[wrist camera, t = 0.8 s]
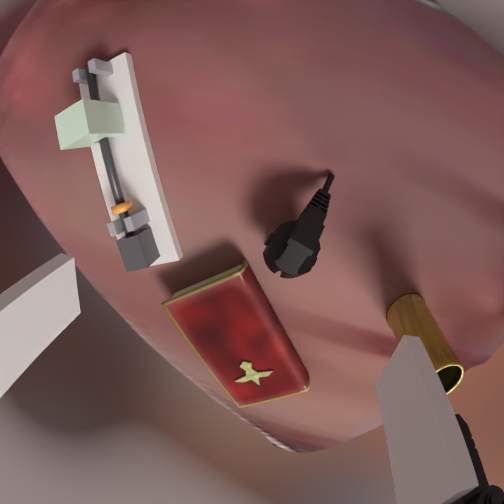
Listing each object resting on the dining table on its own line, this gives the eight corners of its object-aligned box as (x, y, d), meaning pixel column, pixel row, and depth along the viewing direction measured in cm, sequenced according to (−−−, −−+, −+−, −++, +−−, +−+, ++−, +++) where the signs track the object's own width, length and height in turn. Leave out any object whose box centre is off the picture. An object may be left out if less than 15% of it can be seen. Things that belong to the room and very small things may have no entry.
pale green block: (91, 117, 30) (54, 116, 23) (118, 103, 29) (82, 98, 23) (97, 145, 31) (60, 149, 25) (124, 133, 30) (89, 133, 24)
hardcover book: (247, 257, 37) (242, 271, 33) (310, 372, 42) (310, 391, 38) (172, 289, 40) (160, 304, 36) (242, 390, 46) (238, 409, 42)
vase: (432, 298, 35) (477, 362, 22) (413, 333, 37) (447, 403, 24) (397, 289, 35) (437, 357, 22) (379, 326, 38) (406, 401, 24)
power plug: (355, 185, 31) (316, 281, 27) (328, 209, 38) (291, 289, 35) (312, 158, 30) (264, 252, 27) (291, 187, 38) (249, 266, 34)
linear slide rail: (84, 80, 30) (59, 75, 25) (131, 54, 29) (108, 44, 24) (133, 265, 39) (113, 282, 34) (183, 256, 38) (166, 273, 32)
